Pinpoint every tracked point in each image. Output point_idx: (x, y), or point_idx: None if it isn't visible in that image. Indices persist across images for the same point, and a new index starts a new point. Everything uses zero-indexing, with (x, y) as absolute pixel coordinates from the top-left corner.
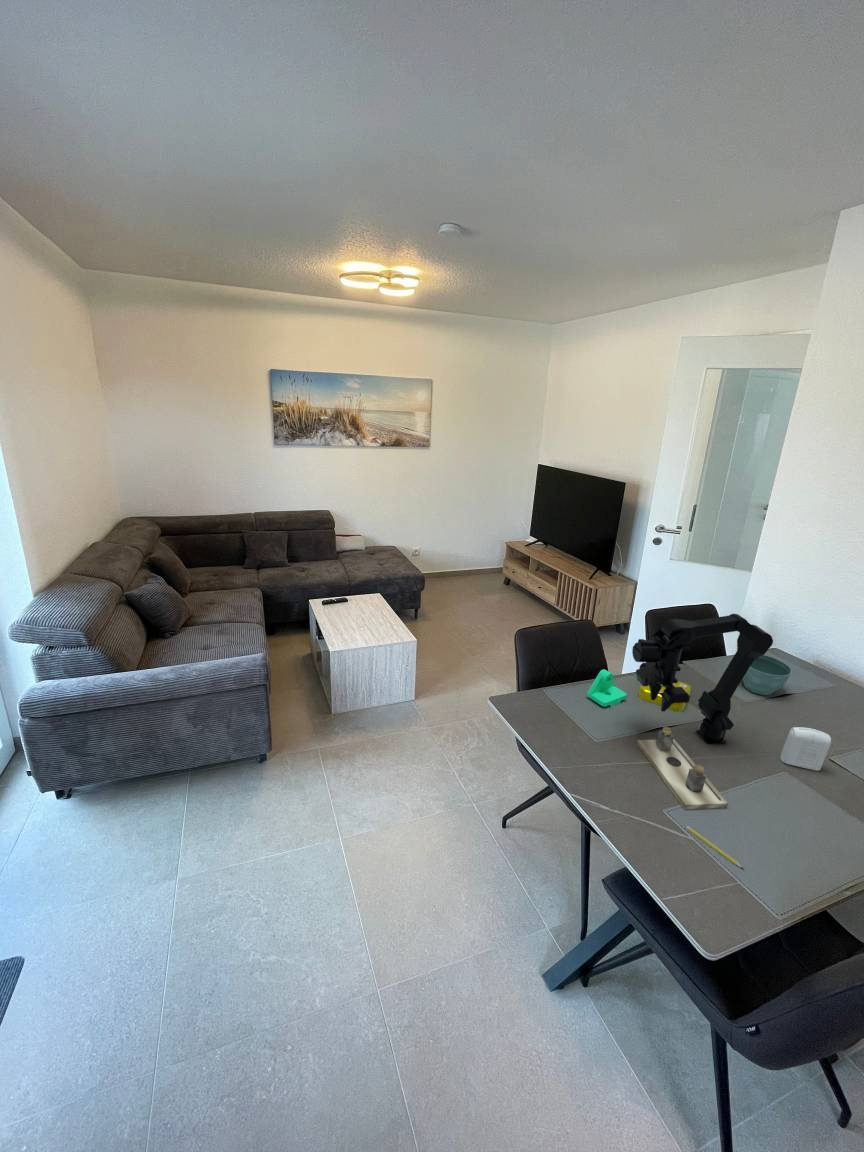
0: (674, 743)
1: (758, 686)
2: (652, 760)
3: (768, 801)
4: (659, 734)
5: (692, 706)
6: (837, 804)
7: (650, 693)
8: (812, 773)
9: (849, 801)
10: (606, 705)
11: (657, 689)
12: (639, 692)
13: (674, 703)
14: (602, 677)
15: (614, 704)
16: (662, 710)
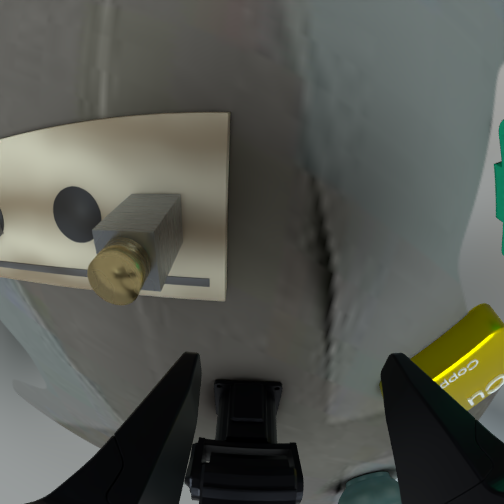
0: (191, 285)
1: (356, 492)
2: (80, 122)
3: (33, 356)
4: (146, 222)
5: (382, 409)
6: (73, 426)
7: (441, 390)
8: None
9: (86, 438)
10: (502, 138)
11: (414, 475)
12: (495, 314)
13: None
14: None
15: (498, 188)
16: (179, 364)
